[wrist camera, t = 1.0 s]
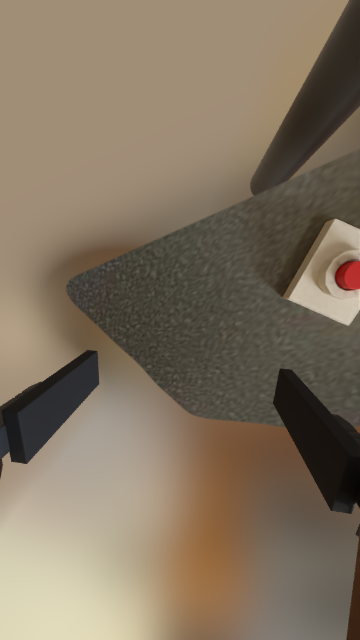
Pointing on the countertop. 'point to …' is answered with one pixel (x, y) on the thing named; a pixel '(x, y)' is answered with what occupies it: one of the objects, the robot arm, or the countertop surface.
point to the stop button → (349, 275)
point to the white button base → (328, 273)
